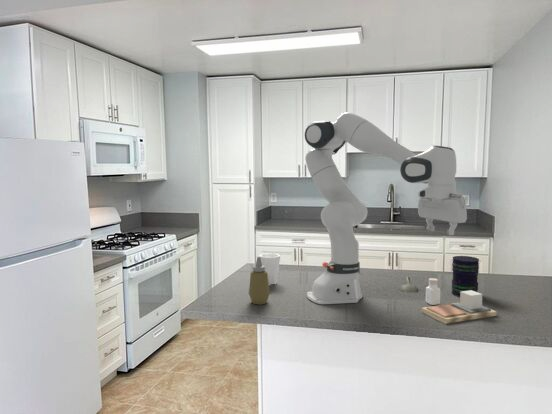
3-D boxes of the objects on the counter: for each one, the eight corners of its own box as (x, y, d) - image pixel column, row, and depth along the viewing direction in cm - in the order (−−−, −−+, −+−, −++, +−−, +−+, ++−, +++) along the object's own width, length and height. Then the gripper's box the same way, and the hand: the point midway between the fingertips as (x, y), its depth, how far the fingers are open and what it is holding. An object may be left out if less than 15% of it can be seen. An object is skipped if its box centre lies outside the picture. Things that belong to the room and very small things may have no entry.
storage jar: (447, 294, 164) (448, 258, 163) (456, 289, 171) (457, 254, 170) (473, 299, 157) (474, 262, 156) (481, 293, 164) (482, 258, 163)
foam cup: (284, 282, 184) (283, 254, 183) (273, 287, 176) (272, 258, 175) (266, 279, 189) (266, 252, 188) (255, 284, 181) (255, 256, 180)
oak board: (445, 323, 133) (445, 317, 133) (421, 311, 144) (421, 306, 144) (496, 315, 140) (496, 310, 140) (469, 304, 151) (469, 299, 151)
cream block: (470, 309, 141) (471, 295, 140) (459, 305, 145) (460, 291, 145) (481, 307, 142) (482, 294, 142) (470, 303, 147) (471, 290, 146)
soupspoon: (401, 294, 168) (417, 296, 167) (401, 286, 168) (418, 288, 166) (400, 278, 189) (415, 280, 187) (400, 272, 189) (415, 273, 187)
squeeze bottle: (254, 307, 151) (253, 260, 149) (245, 301, 158) (245, 256, 156) (273, 303, 154) (272, 257, 153) (264, 298, 162) (263, 254, 160)
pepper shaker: (431, 305, 151) (432, 281, 150) (424, 302, 154) (425, 278, 154) (440, 304, 152) (441, 280, 151) (433, 301, 156) (434, 277, 155)
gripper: (472, 194, 129) (471, 236, 130) (429, 191, 148) (428, 228, 150) (456, 195, 127) (455, 238, 128) (415, 192, 146) (414, 229, 148)
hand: (440, 232), depth 139 cm, fingers open, 8 cm apart
